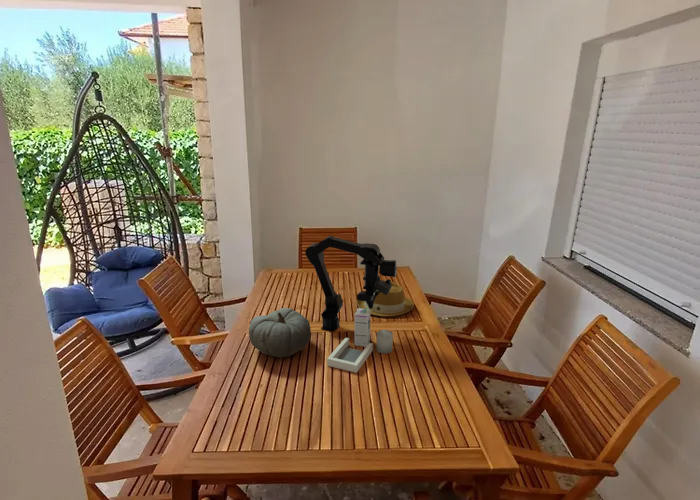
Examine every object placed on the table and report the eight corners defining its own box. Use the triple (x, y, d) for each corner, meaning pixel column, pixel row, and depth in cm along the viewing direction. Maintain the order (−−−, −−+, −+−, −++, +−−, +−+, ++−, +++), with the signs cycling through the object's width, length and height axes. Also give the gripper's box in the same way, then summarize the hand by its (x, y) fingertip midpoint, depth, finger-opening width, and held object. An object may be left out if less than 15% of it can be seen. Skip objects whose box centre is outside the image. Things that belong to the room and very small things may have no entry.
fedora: (368, 292, 224) (369, 272, 220) (420, 302, 212) (421, 280, 208) (347, 311, 201) (347, 289, 197) (403, 323, 189) (404, 300, 185)
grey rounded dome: (374, 351, 165) (374, 335, 163) (379, 343, 171) (379, 328, 169) (389, 354, 162) (389, 338, 160) (394, 347, 168) (394, 331, 166)
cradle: (327, 365, 155) (327, 358, 154) (345, 344, 170) (345, 337, 169) (356, 372, 150) (356, 365, 149) (372, 350, 166) (373, 343, 165)
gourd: (233, 352, 159) (238, 309, 156) (267, 333, 182) (272, 295, 179) (290, 371, 151) (297, 327, 148) (318, 349, 174) (324, 310, 171)
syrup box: (368, 347, 168) (368, 314, 164) (353, 345, 169) (354, 313, 165) (370, 340, 173) (371, 308, 169) (356, 338, 174) (356, 307, 170)
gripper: (382, 284, 161) (381, 321, 165) (396, 270, 177) (395, 303, 182) (356, 280, 165) (355, 316, 169) (372, 266, 181) (371, 299, 186)
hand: (370, 308), depth 176 cm, fingers closed
